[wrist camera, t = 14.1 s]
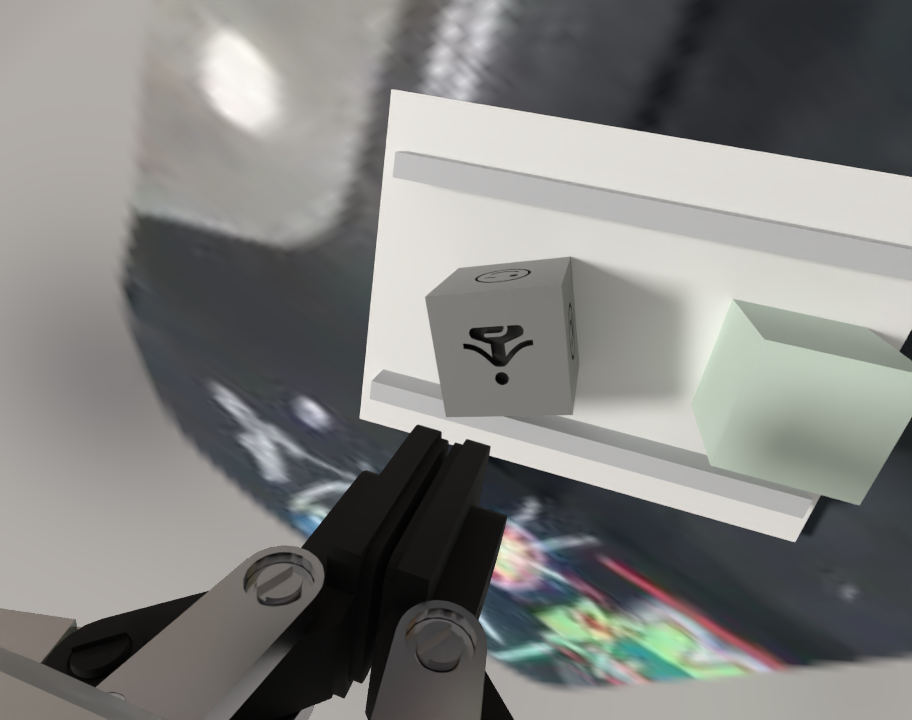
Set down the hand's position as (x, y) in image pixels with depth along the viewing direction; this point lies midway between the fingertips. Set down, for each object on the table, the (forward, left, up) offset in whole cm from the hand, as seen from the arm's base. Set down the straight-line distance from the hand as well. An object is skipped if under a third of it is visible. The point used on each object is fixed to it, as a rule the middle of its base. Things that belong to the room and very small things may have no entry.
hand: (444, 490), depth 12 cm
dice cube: (0, 0, -14) cm, 14 cm away
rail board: (-3, 0, -15) cm, 15 cm away
